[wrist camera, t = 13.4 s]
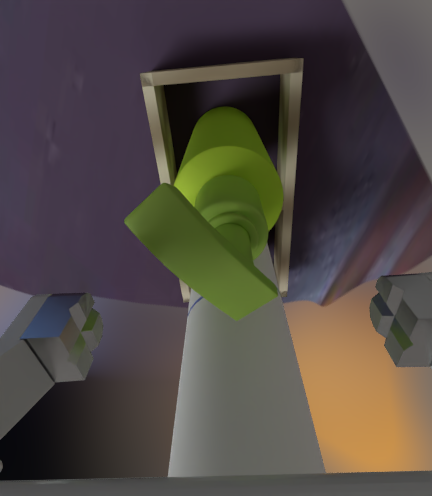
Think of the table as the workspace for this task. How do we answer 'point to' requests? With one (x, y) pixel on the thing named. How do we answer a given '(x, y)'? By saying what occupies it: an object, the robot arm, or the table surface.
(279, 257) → the frame
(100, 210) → the table surface
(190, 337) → the cylindrical container
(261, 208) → the soap dispenser
